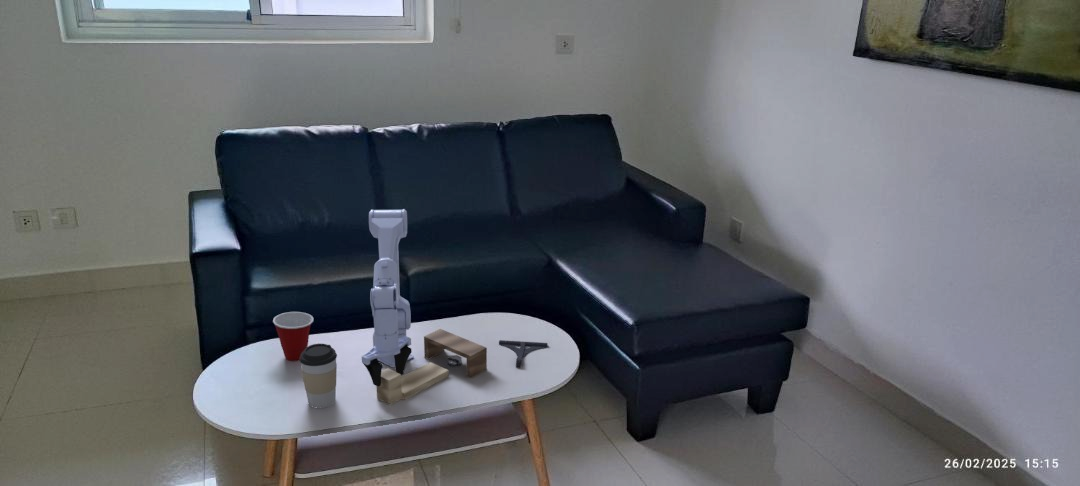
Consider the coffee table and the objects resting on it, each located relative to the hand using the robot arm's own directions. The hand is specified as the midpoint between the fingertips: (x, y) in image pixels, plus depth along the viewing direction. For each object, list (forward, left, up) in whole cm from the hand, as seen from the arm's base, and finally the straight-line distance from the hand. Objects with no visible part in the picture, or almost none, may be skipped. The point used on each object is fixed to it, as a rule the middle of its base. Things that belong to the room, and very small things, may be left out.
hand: (388, 379), depth 189 cm
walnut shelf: (0, +24, -6) cm, 25 cm away
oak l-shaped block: (0, +8, -6) cm, 10 cm away
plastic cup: (-37, -2, -6) cm, 38 cm away
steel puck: (0, +24, -6) cm, 25 cm away
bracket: (+11, +40, -6) cm, 42 cm away
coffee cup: (-12, -12, -6) cm, 18 cm away
